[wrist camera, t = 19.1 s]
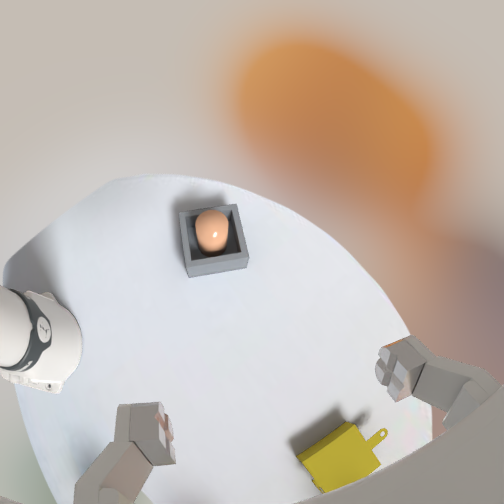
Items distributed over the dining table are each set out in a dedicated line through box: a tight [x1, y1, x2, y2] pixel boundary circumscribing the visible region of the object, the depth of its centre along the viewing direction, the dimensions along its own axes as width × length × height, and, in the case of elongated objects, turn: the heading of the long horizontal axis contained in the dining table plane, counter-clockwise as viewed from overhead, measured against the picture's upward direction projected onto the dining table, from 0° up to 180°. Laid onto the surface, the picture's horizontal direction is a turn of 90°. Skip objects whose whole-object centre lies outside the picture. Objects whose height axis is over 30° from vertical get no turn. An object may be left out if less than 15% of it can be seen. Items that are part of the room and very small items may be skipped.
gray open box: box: [179, 204, 249, 278], centre depth 49 cm, size 10×10×5 cm
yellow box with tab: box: [296, 422, 388, 493], centre depth 36 cm, size 16×8×15 cm
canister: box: [195, 210, 228, 257], centre depth 47 cm, size 5×5×8 cm
